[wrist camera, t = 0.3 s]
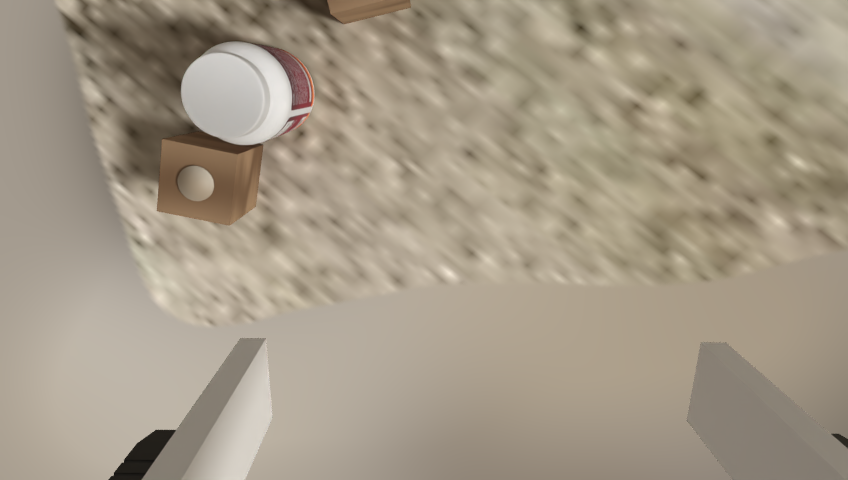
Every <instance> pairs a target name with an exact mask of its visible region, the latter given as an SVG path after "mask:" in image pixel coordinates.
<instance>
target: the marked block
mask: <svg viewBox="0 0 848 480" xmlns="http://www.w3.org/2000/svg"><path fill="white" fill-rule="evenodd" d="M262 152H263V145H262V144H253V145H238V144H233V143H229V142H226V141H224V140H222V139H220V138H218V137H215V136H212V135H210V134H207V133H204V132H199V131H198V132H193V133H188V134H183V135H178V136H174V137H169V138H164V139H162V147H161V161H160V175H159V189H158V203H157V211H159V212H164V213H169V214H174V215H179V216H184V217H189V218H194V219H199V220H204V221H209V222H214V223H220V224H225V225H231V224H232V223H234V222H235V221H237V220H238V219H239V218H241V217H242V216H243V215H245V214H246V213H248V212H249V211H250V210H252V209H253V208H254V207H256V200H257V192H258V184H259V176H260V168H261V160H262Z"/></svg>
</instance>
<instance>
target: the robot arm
mask: <svg viewBox="0 0 848 480" xmlns="http://www.w3.org/2000/svg"><path fill="white" fill-rule="evenodd" d="M271 406H272V405H271V395H270V382H269V370H268V358H267V345H266V338H262V339H261V338H260V339H259V338H241V339H240V340H239V341H238V343H237V344H236V345H235V347H234V348H233V350H232V351H231V353H230V354H229V355H228V357H227V358H226V360H225V361H224V363H223V364H222V365H221V367H220V368H219V370H218V371H217V373H216V374H215V375H214V377H213V378H212V380H211V381H210V383H209V384H208V385H207V387H206V389H205V390H204V391H203V393H202V394H201V395H200V397H199V399H198V400H197V401H196V403H195V404H194V406H193V407H192V408H191V410H190V411H189V413H188V414H187V415H186V417H185V418H184V420H183V421H182V423H181V424H180V425H179V427H178V428H177V430H155V431H154V432H152V433H151V434H150V435H148V436H147V437H145V438H144V439H143V440H141V441H140V442H138V443H137V444H136V446H135V447H134V448H133V449H132V451H131V452H130V453H129V454H128V456H127V457H126V458H125V460H124V463H121V465H120V466H119V467H118V468H117V470H116V471H115V472H114V476H111V477H110V479H109V480H245V478H246V476H247V474H248V472H249V469H250V467H251V465H252V463H253V460H254V458H255V456H256V453H257V451H258V448H259V447H260V444H261V442H262V440H263V438H264V435H265V433H266V431H267V429H268V426H269V424H270V422H271V419H272V407H271ZM687 422H688V423H689V424H690V426H691V427H692V428H693V429H694V431H695V432H696V433H697V435H698V436H699V437H700V439H701V440H702V441H703V442H704V444H705V445H706V446H707V448H708V449H709V450H710V451H711V453H712V454H713V455H714V457H715V458H716V459H717V461H718V462H719V463H720V464H721V466H722V467H723V468H724V470H725V471H726V472H727V473H728V475H729V476H730V477H731V479H732V480H848V439H846V438H845V437H843V436H841V435H839V434H830V433H829V432H828V431H827V430H826V429H825V428H824V427H822V426H821V425H820V424H819V423H818V422H817V421H816V420H814V419H813V418H812V417H811V416H810V415H809V414H807V413H806V412H805V411H804V410H803V409H802V408H800V407H799V406H798V405H797V404H796V403H795V402H794V401H793V400H791V399H790V398H789V397H788V396H787V395H786V394H784V393H783V392H782V391H781V390H780V389H779V388H778V387H776V386H775V385H774V384H773V383H772V382H771V381H770V380H768V379H767V378H766V377H765V376H764V375H763V374H762V373H760V372H759V371H758V370H757V369H756V368H755V367H753V366H752V365H751V364H750V363H749V362H748V361H747V360H745V359H744V358H743V357H742V356H741V355H740V354H738V353H737V352H736V351H735V350H734V349H733V348H732V347H730V346H729V345H728V344H727V343H711V342H701V344H700V350H699V355H698V361H697V366H696V372H695V377H694V383H693V389H692V394H691V399H690V405H689V410H688V416H687Z"/></svg>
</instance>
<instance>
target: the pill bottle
mask: <svg viewBox="0 0 848 480" xmlns="http://www.w3.org/2000/svg"><path fill="white" fill-rule="evenodd" d="M181 98H182V103H183V106H184V109H185V111H186V113H187V115H188V116H189V118H190V119H191V120H192V122H193V123H194V124H195V125H196V126H197V127H198V128H200V129H201V130H203V131H204V132H206V133H207V134H210V135H212V136H215V137H218V138H220V139H222V140H224V141H226V142H229V143H233V144H238V145H253V144H258V143H262V142H265V141H267V140H270V139H272V138H275V137H277V136H280V135H282V134H285V133H287V132H290V131H292V130H294V129H296V128H297V127H299V126H300V125H301V124H302V123H303V122H304V121H305V120H306V119H307V117H308V116H309V114H310V112H311V110H312V108H313V104H314V85H313V81H312V78H311V75H310V73H309V72H308V70H307V68H306V67H305V66H304V64H303V63H302V62H301V61H300V60H299V59H298V58H296V57H295V56H294V55H292V54H290V53H288V52H286V51H284V50H281V49H278V48H272V47H268V46H263V45H257V44H252V43H247V42H237V41H233V42H225V43H221V44H218V45H216V46H214V47H212V48H210V49H209V50H207V51H206V52H205V53H204V54H203V55H202V56H201V57H199V58H197V59H196V60H195V61H194V62H193V63H191V65H190V66H189V67H188V68H187V70H186V72H185V74H184V76H183V79H182V83H181Z"/></svg>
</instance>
